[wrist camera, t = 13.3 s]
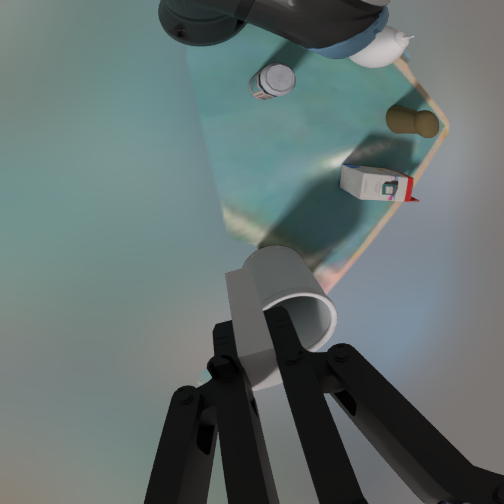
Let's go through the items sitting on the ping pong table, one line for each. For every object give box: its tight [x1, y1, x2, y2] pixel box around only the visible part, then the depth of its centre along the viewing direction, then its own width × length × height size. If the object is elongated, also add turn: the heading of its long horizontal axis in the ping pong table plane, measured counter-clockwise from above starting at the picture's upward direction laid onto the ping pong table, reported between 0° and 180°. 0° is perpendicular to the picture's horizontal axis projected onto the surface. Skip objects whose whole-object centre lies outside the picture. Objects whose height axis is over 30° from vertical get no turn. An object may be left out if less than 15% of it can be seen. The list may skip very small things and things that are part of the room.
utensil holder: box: [242, 245, 337, 352], centre depth 51 cm, size 15×15×18 cm
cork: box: [386, 105, 439, 138], centre depth 42 cm, size 6×6×11 cm
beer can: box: [249, 63, 296, 100], centre depth 36 cm, size 5×5×12 cm
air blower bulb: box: [349, 26, 415, 68], centre depth 32 cm, size 8×8×18 cm
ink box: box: [340, 164, 419, 202], centre depth 48 cm, size 8×5×15 cm
